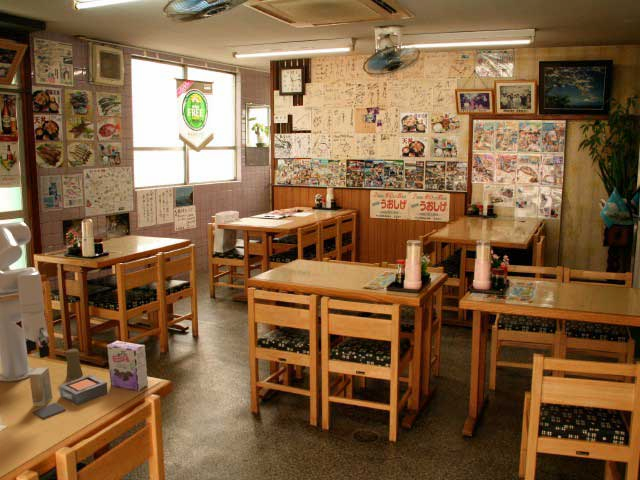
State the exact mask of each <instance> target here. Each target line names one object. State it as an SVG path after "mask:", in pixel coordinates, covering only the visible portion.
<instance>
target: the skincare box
mask: <svg viewBox="0 0 640 480" xmlns="http://www.w3.org/2000/svg"><path fill="white" fill-rule="evenodd" d="M33 370H34V371H33V372H32V373H30V374H29V377H28V378H29V383H30V385H29V386H30V391H31V397H32V406H34V407H45V406H47V404H48V403H50V401H52V399H53V392H52V385H51V376H50V367H36V368H35V369H33Z"/></svg>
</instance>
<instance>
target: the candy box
mask: <svg viewBox="0 0 640 480" xmlns="http://www.w3.org/2000/svg"><path fill="white" fill-rule="evenodd" d="M106 349H107V350H106V351H107V359H108V368H109V370H108V371H109V380H110V386H111V387H115V386H116V387H117V388H120V387H121V389H124V388H126V389H125V390H129V389H130V390H131V391H134V390H135V392H139V391H142V390H143V389H145V388H147V387H148V386H149V383H148V370H147V358H146V357H147V356H146V355H147V354H146V345H145V344H139V343H133V342H126V341H120V340H116V341H114V342H113V341H112V343H109V344H106ZM116 387H115V388H116Z"/></svg>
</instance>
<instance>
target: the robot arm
mask: <svg viewBox="0 0 640 480" xmlns="http://www.w3.org/2000/svg"><path fill="white" fill-rule="evenodd" d="M31 238H32V233H31V230H30V227H29V226H28V225H27V223H25V222H22V221H16V222H8V223H0V298H3V297H7V296H13V295H18V296H15V297H10V298H4V299H2V300H0V366H1V372H0V381H1V382H6V383H7V382H10V383H11V382H17V381H22V380H25V379H26V378H30V377H29V374H30V373H32V372H33V371H34V370H35V369H34V368H32V367H31V366H29V359H28V353H30V352H32V351H36V350H37V347H38V352H39V353H38V354H39V358H41V359H43V358H46V357H49V356H50V354H51V353H50V347H49V346H50V341H49V340H50V339H49V338H50V335H49V334H48V328H47V327H48V326H47V321H46V317H45V312H44V311H45V310H46V309H45V301H44V293H43V284H42V283H43V282H42V277H41V273H40V271H39V270H37V268H35V267H31V266H30V267H22V268H17V269H10V266H12V265H13V264H15V263H16V262H18V261H19V259H21V257H22V255H23V250H22V247H21V246H22V245H26V244H28V243H29V242H30V241H31ZM19 322H21V326H20V325H18V324H17V323H19ZM37 343H38V346H37Z"/></svg>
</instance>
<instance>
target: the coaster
mask: <svg viewBox="0 0 640 480" xmlns="http://www.w3.org/2000/svg"><path fill="white" fill-rule="evenodd" d="M66 411H67V408H65V407H63V406H62V405H60V404H59V403H57V402H53V403H51V404H48V405H47V404H46V405H45V406H41V407H39V408H37V409H34V410H32V414H34V415H36V416H37V417H39V418H40V419H42V420H45V419H46V420H47V418H51V417H53V416H56V415H58V414H61V413H64V412H66Z"/></svg>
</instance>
